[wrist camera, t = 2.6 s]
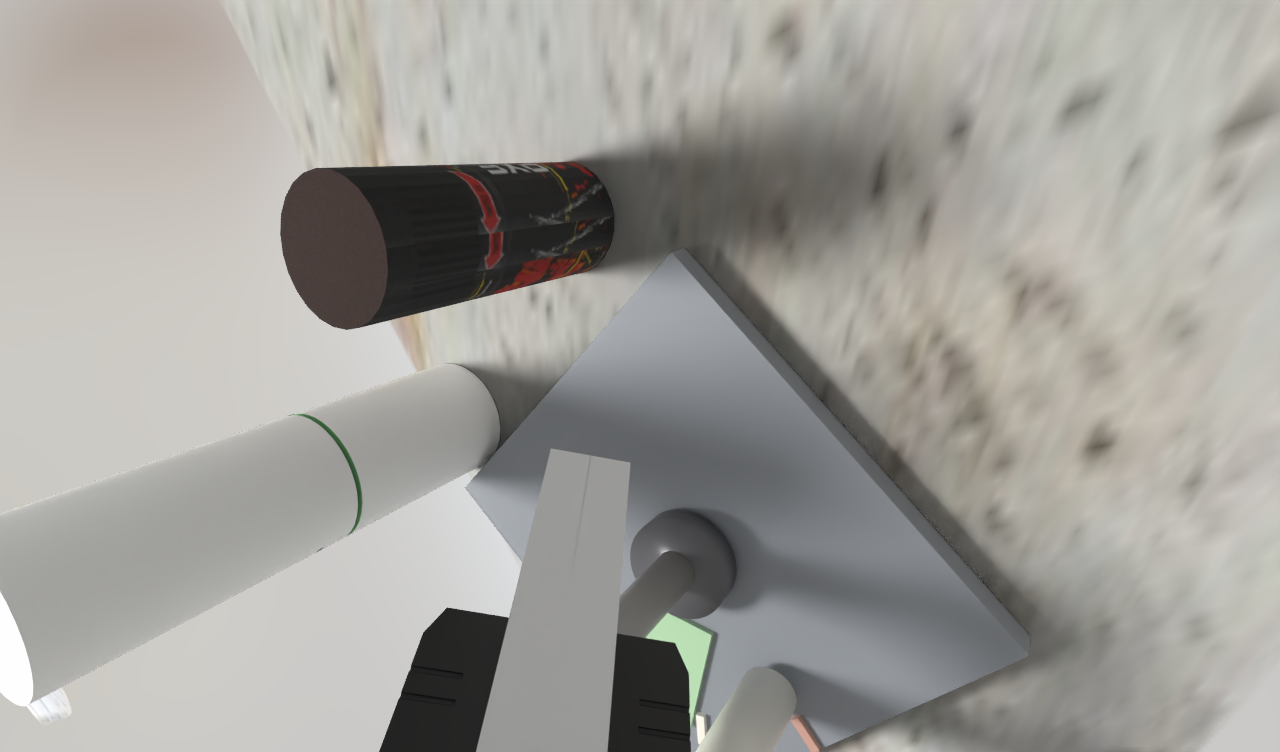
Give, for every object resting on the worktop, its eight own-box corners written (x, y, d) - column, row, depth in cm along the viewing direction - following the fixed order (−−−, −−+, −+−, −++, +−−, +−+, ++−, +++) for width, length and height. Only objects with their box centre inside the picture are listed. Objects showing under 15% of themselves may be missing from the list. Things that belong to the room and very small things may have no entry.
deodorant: (608, 156, 37) (370, 159, 25) (619, 272, 38) (400, 331, 26) (518, 167, 40) (266, 175, 28) (531, 274, 41) (298, 328, 29)
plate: (480, 479, 48) (461, 489, 47) (685, 248, 36) (668, 252, 35) (716, 782, 44) (703, 803, 43) (1030, 637, 32) (1028, 660, 31)
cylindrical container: (403, 385, 49) (-79, 553, 29) (468, 347, 45) (-40, 512, 25) (449, 479, 50) (1, 713, 29) (517, 449, 46) (53, 697, 25)
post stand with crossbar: (625, 532, 41) (429, 698, 28) (696, 492, 37) (510, 659, 25) (748, 722, 40) (601, 978, 27) (831, 698, 36) (707, 974, 24)
